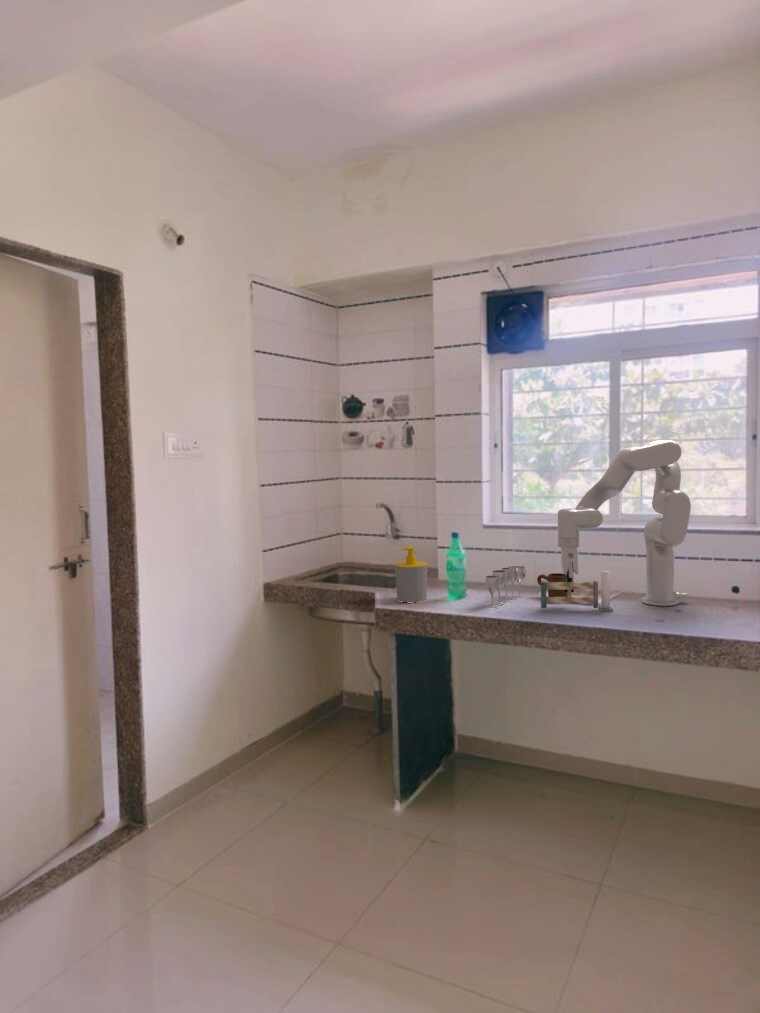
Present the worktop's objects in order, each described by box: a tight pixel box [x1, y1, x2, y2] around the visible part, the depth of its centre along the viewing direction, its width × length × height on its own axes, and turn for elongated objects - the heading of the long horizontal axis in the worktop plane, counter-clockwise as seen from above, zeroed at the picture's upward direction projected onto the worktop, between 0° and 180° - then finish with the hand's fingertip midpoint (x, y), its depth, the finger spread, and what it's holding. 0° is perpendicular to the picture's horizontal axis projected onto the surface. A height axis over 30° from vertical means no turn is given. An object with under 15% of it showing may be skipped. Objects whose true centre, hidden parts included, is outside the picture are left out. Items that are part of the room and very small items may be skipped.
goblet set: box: [485, 565, 527, 608], centre depth 263 cm, size 28×6×13 cm, turn 143°
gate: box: [540, 580, 599, 609], centre depth 247 cm, size 20×2×10 cm, turn 83°
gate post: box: [598, 570, 614, 613], centre depth 245 cm, size 4×5×14 cm
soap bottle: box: [394, 546, 428, 602], centre depth 271 cm, size 13×13×21 cm
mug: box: [536, 572, 567, 597], centre depth 268 cm, size 12×8×9 cm, turn 60°
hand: (568, 591), depth 252 cm, fingers closed
